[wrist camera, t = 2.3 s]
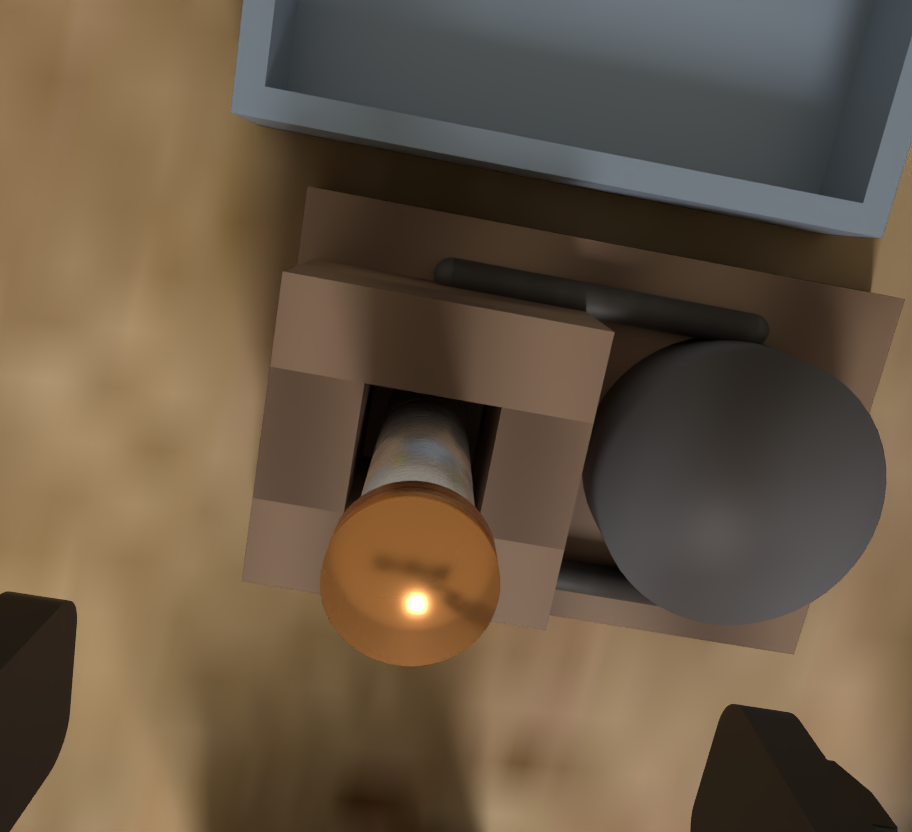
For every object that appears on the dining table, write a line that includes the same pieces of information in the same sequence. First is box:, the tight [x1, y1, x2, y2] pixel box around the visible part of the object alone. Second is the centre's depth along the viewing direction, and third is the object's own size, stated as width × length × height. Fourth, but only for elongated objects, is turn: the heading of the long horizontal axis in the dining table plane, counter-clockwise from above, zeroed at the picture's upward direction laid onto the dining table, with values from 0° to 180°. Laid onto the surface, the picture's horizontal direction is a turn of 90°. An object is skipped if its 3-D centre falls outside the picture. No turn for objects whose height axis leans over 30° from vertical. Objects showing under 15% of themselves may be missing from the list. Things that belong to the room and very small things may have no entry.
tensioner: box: [242, 186, 905, 655], centre depth 24 cm, size 18×12×7 cm, turn 80°
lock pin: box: [320, 389, 500, 666], centre depth 20 cm, size 3×3×12 cm
